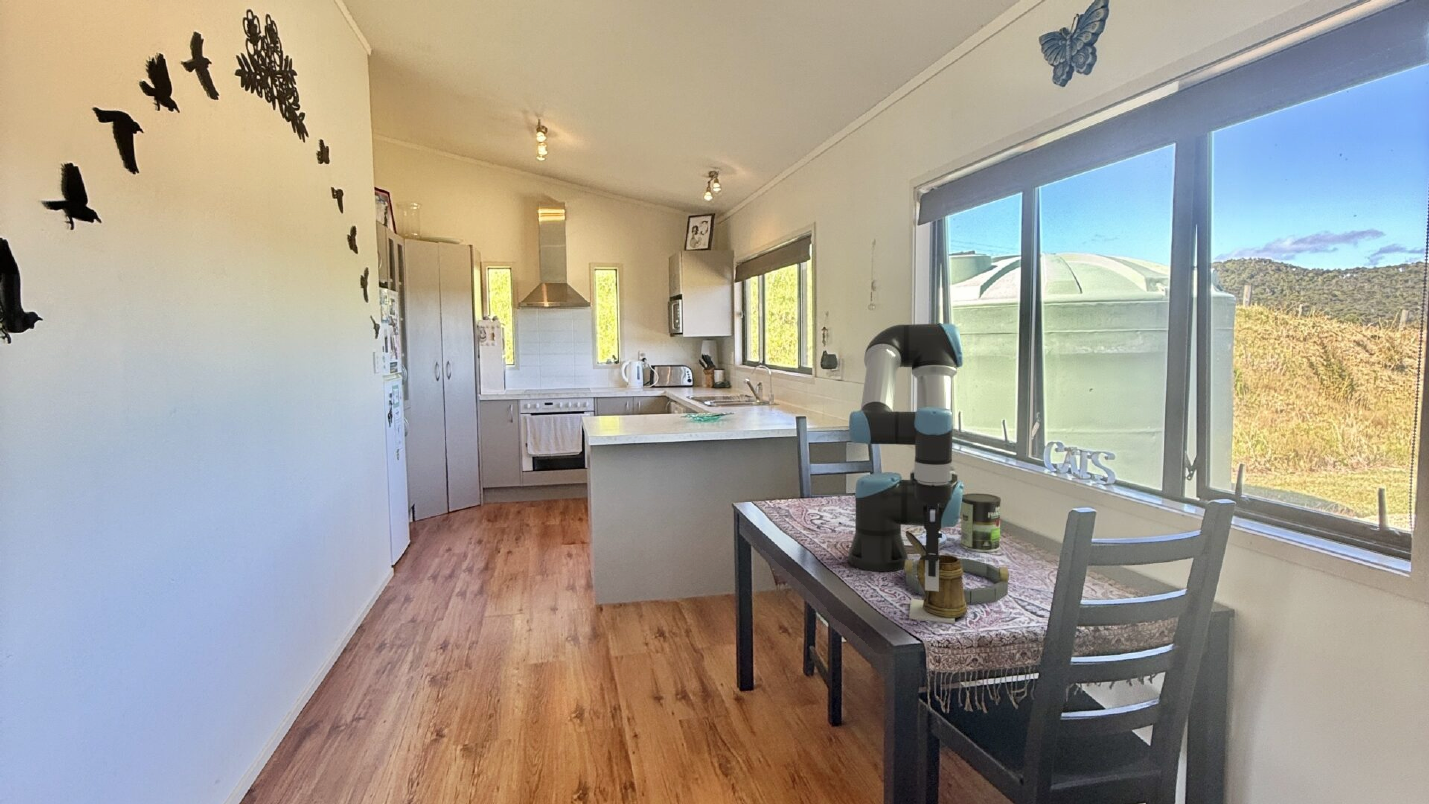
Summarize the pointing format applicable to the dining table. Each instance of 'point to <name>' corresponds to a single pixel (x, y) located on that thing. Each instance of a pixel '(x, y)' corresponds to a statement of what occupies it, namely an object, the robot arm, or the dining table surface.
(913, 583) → the collar
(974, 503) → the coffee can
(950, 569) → the wooden mug
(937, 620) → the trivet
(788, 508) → the dining table surface
